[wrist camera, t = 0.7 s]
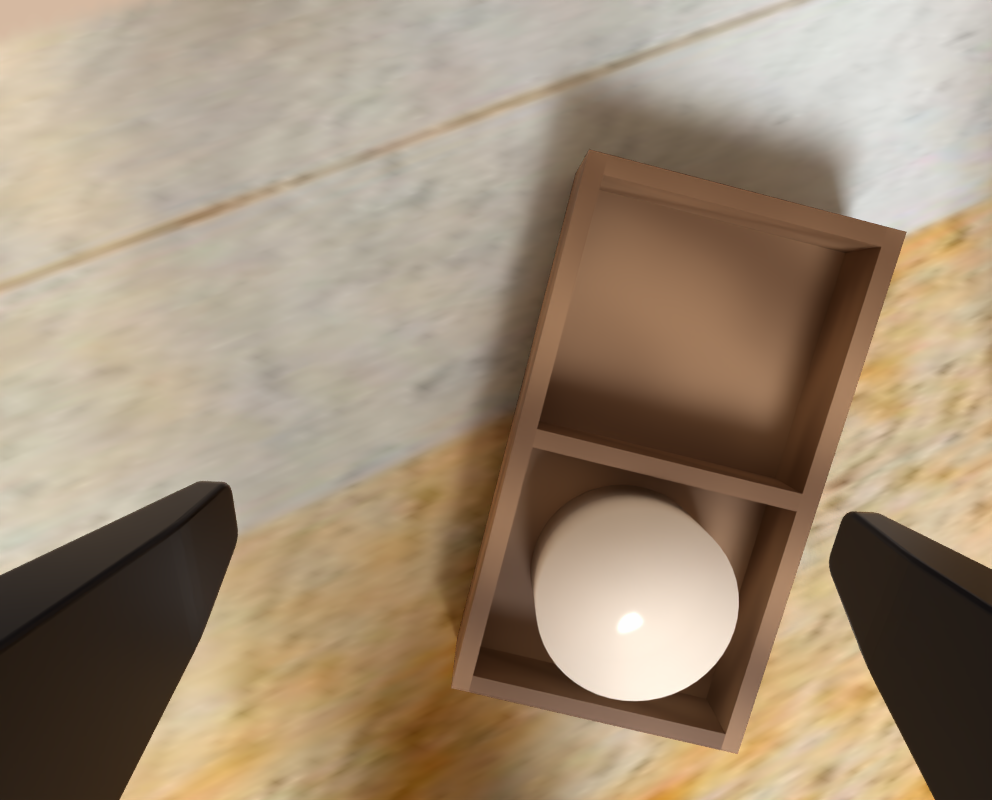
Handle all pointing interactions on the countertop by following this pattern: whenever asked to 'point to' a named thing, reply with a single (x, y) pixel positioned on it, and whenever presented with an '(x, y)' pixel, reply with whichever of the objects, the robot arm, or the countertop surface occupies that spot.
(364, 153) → the countertop surface
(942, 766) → the robot arm
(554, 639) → the cream rounded shiny part
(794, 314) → the caddy
